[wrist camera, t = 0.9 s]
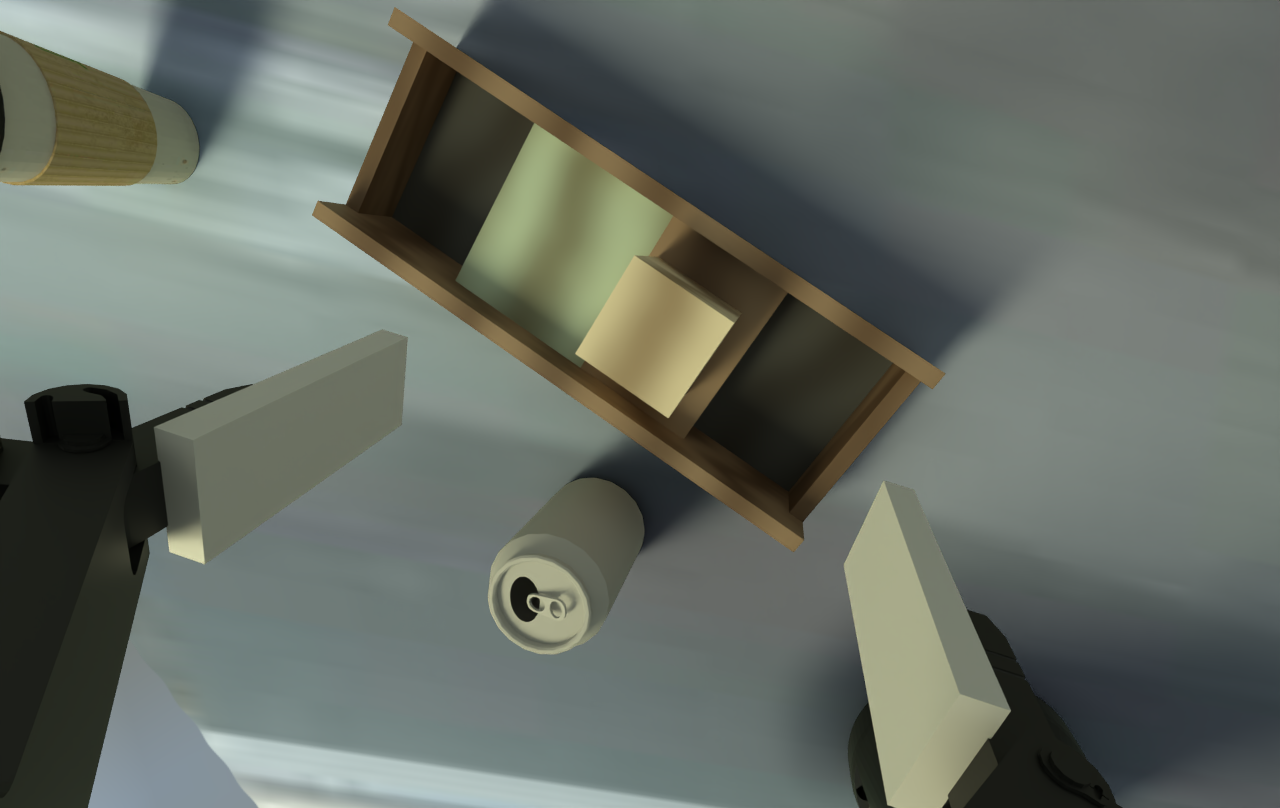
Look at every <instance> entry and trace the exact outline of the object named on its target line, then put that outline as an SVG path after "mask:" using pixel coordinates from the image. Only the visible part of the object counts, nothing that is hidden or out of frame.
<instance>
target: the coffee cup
mask: <svg viewBox="0 0 1280 808" xmlns="http://www.w3.org/2000/svg"><path fill="white" fill-rule="evenodd" d="M198 157H199V140H198V135H197V132H196V129H195V126H194V124H193V122H192V120H191V118H190V117H189V115H188V114H187V112H186V111H185V110H184V109H183V108H182V107H181V106H180V105H178V104H177V103H175V102H174V101H171V100H169V99H166V98H164V97H161V96H159V95H156V94H154V93H151V92H148V91H146V90H143V89H141V88H138V87H136V86H133V85H130V84H129V83H128V82H126V81H124V80H122V79H120V78H117V77H115V76H112V75H110V74H107V73H105V72H102V71H100V70H97V69H95V68H92V67H90V66H87V65H85V64H82V63H80V62H77V61H75V60H72V59H70V58H67V57H65V56H62V55H59V54H57V53H54V52H52V51H49V50H47V49H44V48H42V47H39V46H37V45H34V44H32V43H29V42H27V41H24V40H22V39H19V38H17V37H14V36H12V35H9V34H7V33H4V32H1V31H0V182H3V183H7V184H11V185H88V186H126V185H133V184H178V183H181V182H183V181H185V180H186V179H188V178H189V177H190V175H191V174H192V173H193V171H194V170H195V168H196V165H197V162H198Z"/></svg>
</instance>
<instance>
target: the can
mask: <svg viewBox="0 0 1280 808" xmlns="http://www.w3.org/2000/svg"><path fill="white" fill-rule="evenodd" d="M644 533H645V530H644V523H643V516H642V514H641V512H640V510H639V508H638V506H637V504H636V502H635V501H634V500H633V499H632V498H631V496H630V495H629V494H628V493H627V492H626V491H625V490H624V489H622V488H620V487H619V486H617V485H615V484H614V483H612V482H610V481H606V480H602V479H598V478H581V479H578V480H575V481H573V482H570V483H568V484H566V485H565V486H564V487H563V488H562V489H560V490H559V491H558V492H557V493H556V494H555V495H554V496H553V497H552V498H551V499H550V500H549V501H548V502H547V503H546V504H545V505H544V506H543V507H542V508H541V509H540V510H539V511H538V512H537V513H536V514H535V515H534V517H533V518H532V519H531V520H530V521H529V522H528V523H527V524H526V525H525V526H524V527H523V528H522V529H521V530H520V531H519V532H518V533H517V534H516V535H515V536H514V537H513V538H512V539H511V540H510V541H509V542H508V543H507V544H506V545H505V546H504V547H503V548H502V549H501V550H500V551H499V553H498V555H497V557H496V559H495V561H494V563H493V564H492V566H491V574H490V583H489V591H488V602H489V607H490V611H491V614H492V616H493V618H494V620H495V622H496V624H497V626H498V628H499V629H500V630H501V631H502V632H503V633H504V634H505V635H506V636H507V637H508V638H509V639H510V640H511V641H512V642H514V643H516V644H517V645H519V646H520V647H522V648H523V649H526V650H529V651H532V652H535V653H539V654H558V653H561V652H564V651H568V650H570V649H572V648H573V647H574V646H577V645H580V644H584V643H585V642H586V641H588V640H589V639H590V638H592V637H593V636H594V635H596V634H597V633H598V631H599V629H600V628H601V626H602V625H603V623H604V621H605V620H606V618H607V616H608V614H609V612H610V610H611V608H612V606H613V604H614V602H615V600H616V598H617V596H618V593H619V591H620V589H621V587H622V585H623V583H624V581H625V579H626V577H627V575H628V573H629V571H630V569H631V567H632V565H633V563H634V561H635V559H636V557H637V555H638V553H639V551H640V549H641V547H642V543H643V538H644Z"/></svg>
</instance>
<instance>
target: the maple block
mask: <svg viewBox="0 0 1280 808" xmlns="http://www.w3.org/2000/svg"><path fill="white" fill-rule="evenodd" d="M741 314H742V313H741V312H739V311H738V310H736V309H735V308H733V307H732V306H730V305H729V304H727V303H726V302H724V301H723V300H721V299H720V298H718V297H717V296H715V295H714V294H712V293H711V292H709V291H708V290H707V289H705V288H704V287H702V286H701V285H699V284H698V283H696V282H695V281H693V280H692V279H690V278H689V277H687V276H686V275H684V274H683V273H681V272H680V271H678V270H677V269H675V268H674V267H672V266H671V265H669V264H668V263H667V262H665V261H664V260H662V259H661V258H659V257H653V256H636V255H634V257H633V259H632V260H631V262H630V264H629V265H628V267H627V269H626V270H625V272H624V273H623V275H622V277H621V278H620V280H619V282H618V283H617V285H616V287H615V288H614V290H613V292H612V293H611V295H610V297H609V298H608V300H607V302H606V303H605V305H604V307H603V308H602V310H601V312H600V313H599V315H598V317H597V318H596V320H595V322H594V323H593V325H592V327H591V328H590V330H589V332H588V333H587V335H586V337H585V338H584V340H583V342H582V343H581V345H580V347H579V348H578V350H577V352H576V353H575V354H576V355H578V356H579V357H581V358H582V359H584V360H585V361H586V362H588V363H589V364H591V365H592V366H594V367H595V368H596V369H598V370H599V371H601V372H602V373H604V374H605V375H607V376H608V377H609V378H611V379H612V380H614V381H615V382H617V383H618V384H620V385H621V386H622V387H624V388H625V389H627V390H628V391H630V392H631V393H632V394H634V395H635V396H637V397H638V398H640V399H641V400H643V401H644V402H645V403H647V404H648V405H650V406H651V407H653V408H654V409H656V410H657V411H658V412H660V413H661V414H663V415H664V416H666V417H667V418H669V417H670V415H671V414H672V412H673V411H674V410H675V408H676V407H677V406H678V404H679V403H680V402H681V400H682V399H683V397H684V396H685V395H686V393H687V392H688V390H689V389H690V387H691V386H692V385H693V383H694V382H695V380H696V379H697V377H698V376H699V374H700V373H701V372H702V370H703V369H704V367H705V366H706V364H707V363H708V361H709V360H710V359H711V357H712V356H713V354H714V353H715V351H716V350H717V348H718V347H719V346H720V344H721V343H722V341H723V340H724V338H725V337H726V335H727V334H728V332H729V331H730V330H731V328H732V327H733V325H734V324H735V322H736V321H737V319H738V318H739V317H740V315H741Z"/></svg>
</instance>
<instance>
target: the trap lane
mask: <svg viewBox="0 0 1280 808" xmlns="http://www.w3.org/2000/svg"><path fill="white" fill-rule="evenodd" d="M388 25H389V26H390V27H392V28H393V29H395V30H396V31H398V32H399V33H401V34H402V35H404V36H405V37H407V38H408V39H410V40H411V41H413V44H412V47H411V49H410V51H409V54H408V56H407V59H406V61H405V63H404V66H403V68H402V71H401V73H400V75H399V78H398V80H397V83H396V85H395V88H394V90H393V92H392V95H391V97H390V100H389V102H388V104H387V107H386V109H385V112H384V114H383V116H382V119H381V121H380V124H379V126H378V129H377V131H376V133H375V136H374V138H373V141H372V143H371V145H370V148H369V150H368V153H367V155H366V157H365V160H364V162H363V165H362V167H361V169H360V172H359V174H358V177H357V179H356V182H355V184H354V186H353V189H352V191H351V194H350V196H349V198H348V201H347V203H346V205H345V204H337V203H330V202H322V201H318V202H317V204H316V207H315V209H314V212H313V214H312V216H314V217H315V218H317V219H318V220H320V221H321V222H322V223H324V224H325V225H327V226H328V227H330V228H331V229H332V230H334V231H335V232H337V233H338V234H340V235H341V236H342V237H344V238H345V239H347V240H348V241H350V242H351V243H352V244H354V245H355V246H357V247H358V248H360V249H361V250H362V251H364V252H365V253H367V254H368V255H370V256H371V257H372V258H374V259H375V260H377V261H378V262H380V263H381V264H382V265H384V266H385V267H387V268H388V269H390V270H391V271H392V272H394V273H395V274H397V275H398V276H400V277H401V278H402V279H404V280H405V281H407V282H408V283H410V284H411V285H412V286H414V287H415V288H417V289H418V290H420V291H421V292H422V293H424V294H425V295H427V296H428V297H430V298H431V299H433V300H434V301H435V302H437V303H438V304H440V305H441V306H443V307H444V308H445V309H447V310H448V311H450V312H451V313H453V314H454V315H455V316H457V317H458V318H460V319H461V320H463V321H464V322H465V323H467V324H468V325H470V326H471V327H473V328H474V329H475V330H477V331H478V332H480V333H481V334H483V335H484V336H485V337H487V338H488V339H490V340H491V341H493V342H494V343H495V344H497V345H498V346H500V347H501V348H503V349H504V350H505V351H507V352H508V353H510V354H511V355H513V356H514V357H515V358H517V359H518V360H520V361H521V362H523V363H524V364H525V365H527V366H528V367H530V368H531V369H533V370H534V371H535V372H537V373H538V374H540V375H541V376H543V377H544V378H545V379H547V380H548V381H550V382H551V383H553V384H554V385H555V386H557V387H558V388H560V389H561V390H563V391H564V392H565V393H567V394H568V395H570V396H571V397H573V398H574V399H575V400H577V401H578V402H580V403H581V404H583V405H584V406H585V407H587V408H588V409H590V410H591V411H593V412H594V413H595V414H597V415H598V416H600V417H601V418H603V419H604V420H605V421H607V422H608V423H610V424H611V425H613V426H614V427H615V428H617V429H618V430H620V431H621V432H623V433H624V434H625V435H627V436H628V437H630V438H631V439H633V440H634V441H635V442H637V443H638V444H640V445H641V446H643V447H644V448H645V449H647V450H648V451H650V452H651V453H653V454H654V455H655V456H657V457H658V458H660V459H661V460H663V461H664V462H665V463H667V464H668V465H670V466H671V467H673V468H674V469H675V470H677V471H678V472H680V473H681V474H683V475H684V476H685V477H687V478H688V479H690V480H691V481H693V482H694V483H695V484H697V485H698V486H700V487H701V488H703V489H704V490H705V491H707V492H708V493H710V494H711V495H713V496H714V497H715V498H717V499H718V500H720V501H721V502H723V503H724V504H725V505H727V506H728V507H730V508H731V509H733V510H734V511H735V512H737V513H738V514H740V515H741V516H743V517H744V518H745V519H747V520H748V521H750V522H751V523H753V524H754V525H755V526H757V527H758V528H760V529H761V530H763V531H764V532H765V533H767V534H768V535H770V536H771V537H773V538H774V539H775V540H777V541H778V542H780V543H781V544H783V545H784V546H785V547H787V548H788V549H790V550H791V551H793V552H794V551H795V550H796V549H797V548H798V546H799V545H800V544H801V543H802V542H803V541H804V533H803V521H804V520H805V519H806V518H807V516H808V515H809V514H810V513H811V512H812V510H813V509H814V508H815V507H816V506H817V504H818V503H819V502H820V501H821V500H822V499H823V497H824V496H825V495H826V494H827V493H828V491H829V490H830V489H831V488H832V487H833V485H834V484H835V483H836V482H837V481H838V479H839V478H840V477H841V476H842V475H843V474H844V472H845V471H846V470H847V469H848V468H849V466H850V465H851V464H852V463H853V462H854V460H855V459H856V458H857V457H858V456H859V454H860V453H861V452H862V451H863V450H864V449H865V447H866V446H867V445H868V444H869V443H870V441H871V440H872V439H873V438H874V437H875V435H876V434H877V433H878V432H879V431H880V429H881V428H882V427H883V426H884V425H885V424H886V422H887V421H888V420H889V419H890V418H891V416H892V415H893V414H894V413H895V412H896V410H897V409H898V408H899V407H900V406H901V404H902V403H903V402H904V401H905V400H906V399H907V397H908V396H909V395H910V394H911V393H912V391H913V390H914V389H915V388H916V387H917V385H918V384H919V383H920V382H922V383H924V384H925V385H927V386H928V387H930V388H931V389H933V388H934V387H935V386H936V385H937V383H938V382H939V381H940V380H941V379H942V377H943V376H944V375H945V373H944V372H942V371H941V370H939V369H938V368H936V367H935V366H933V365H932V364H930V363H929V362H927V361H926V360H924V359H923V358H921V357H920V356H918V355H917V354H915V353H914V352H912V351H911V350H909V349H908V348H906V347H905V346H903V345H902V344H900V343H899V342H897V341H896V340H894V339H893V338H891V337H890V336H888V335H887V334H885V333H884V332H882V331H881V330H879V329H878V328H876V327H875V326H873V325H872V324H870V323H869V322H867V321H866V320H864V319H863V318H861V317H860V316H858V315H857V314H855V313H854V312H852V311H851V310H849V309H848V308H846V307H845V306H843V305H842V304H840V303H838V302H837V301H835V300H834V299H832V298H831V297H829V296H828V295H826V294H825V293H823V292H822V291H820V290H819V289H817V288H816V287H814V286H813V285H811V284H810V283H808V282H807V281H805V280H804V279H802V278H801V277H799V276H798V275H796V274H795V273H793V272H792V271H790V270H789V269H787V268H786V267H784V266H783V265H781V264H780V263H778V262H777V261H775V260H774V259H772V258H771V257H769V256H768V255H766V254H765V253H763V252H762V251H760V250H759V249H757V248H756V247H754V246H753V245H751V244H750V243H748V242H747V241H745V240H744V239H742V238H741V237H739V236H738V235H736V234H735V233H733V232H732V231H730V230H729V229H727V228H726V227H724V226H723V225H721V224H720V223H718V222H717V221H715V220H714V219H712V218H711V217H709V216H708V215H706V214H705V213H703V212H702V211H700V210H699V209H697V208H696V207H694V206H693V205H691V204H690V203H688V202H687V201H685V200H684V199H682V198H681V197H679V196H678V195H676V194H675V193H673V192H672V191H670V190H669V189H667V188H666V187H664V186H663V185H661V184H660V183H658V182H657V181H655V180H654V179H652V178H651V177H649V176H648V175H646V174H645V173H643V172H642V171H640V170H639V169H637V168H636V167H634V166H633V165H631V164H630V163H628V162H627V161H625V160H624V159H622V158H621V157H619V156H618V155H616V154H615V153H613V152H612V151H610V150H609V149H607V148H606V147H604V146H603V145H601V144H600V143H598V142H597V141H595V140H594V139H592V138H591V137H589V136H588V135H586V134H585V133H583V132H582V131H580V130H579V129H577V128H576V127H574V126H573V125H571V124H570V123H568V122H567V121H565V120H564V119H562V118H561V117H559V116H558V115H556V114H555V113H553V112H552V111H550V110H549V109H547V108H546V107H544V106H543V105H541V104H540V103H538V102H537V101H535V100H534V99H532V98H531V97H529V96H528V95H526V94H525V93H523V92H522V91H520V90H519V89H517V88H516V87H514V86H513V85H511V84H510V83H508V82H507V81H505V80H504V79H502V78H501V77H499V76H498V75H496V74H495V73H493V72H492V71H490V70H489V69H487V68H486V67H484V66H483V65H481V64H480V63H478V62H477V61H475V60H474V59H472V58H471V57H469V56H468V55H466V54H465V53H463V52H462V51H460V50H459V49H457V48H456V47H454V46H452V45H451V44H449V43H448V42H446V41H445V40H443V39H442V38H440V37H439V36H437V35H436V34H434V33H433V32H431V31H430V30H428V29H427V28H425V27H424V26H422V25H421V24H419V23H418V22H416V21H415V20H413V19H412V18H410V17H409V16H407V15H406V14H404V13H403V12H401V11H400V10H398V9H397V8H394V10H393V13H392V15H391V18H390V21H389V23H388ZM634 255H636V256H653V257H659V258H661V259H662V260H664V261H665V262H667V263H668V264H669V265H671V266H672V267H674V268H675V269H677V270H678V271H680V272H681V273H683V274H684V275H686V276H687V277H689V278H690V279H692V280H693V281H695V282H696V283H698V284H699V285H701V286H702V287H704V288H705V289H707V290H708V291H709V292H711V293H712V294H714V295H715V296H717V297H718V298H720V299H721V300H723V301H724V302H726V303H727V304H729V305H730V306H732V307H733V308H735V309H736V310H738V311H739V312H741V313H742V314H741V315H740V317H739V318H738V319H737V321H736V322H735V324H734V325H733V327H732V328H731V330H730V331H729V332H728V334H727V335H726V337H725V338H724V340H723V341H722V343H721V344H720V346H719V347H718V348H717V350H716V351H715V353H714V354H713V356H712V357H711V359H710V360H709V361H708V363H707V364H706V366H705V367H704V369H703V370H702V372H701V373H700V374H699V376H698V377H697V379H696V380H695V382H694V383H693V385H692V386H691V387H690V389H689V390H688V392H687V393H686V395H685V396H684V397H683V399H682V400H681V402H680V403H679V404H678V406H677V407H676V408H675V410H674V411H673V412H672V414H671V415H670V417H669V418H667V417H666V416H664V415H663V414H661V413H660V412H658V411H657V410H656V409H654V408H653V407H651V406H650V405H648V404H647V403H645V402H644V401H643V400H641V399H640V398H638V397H637V396H635V395H634V394H632V393H631V392H630V391H628V390H627V389H625V388H624V387H622V386H621V385H620V384H618V383H617V382H615V381H614V380H612V379H611V378H609V377H608V376H607V375H605V374H604V373H602V372H601V371H599V370H598V369H596V368H595V367H594V366H592V365H591V364H589V363H588V362H586V361H585V360H584V359H582V358H581V357H579V356H578V355H576V354H575V353H576V352H577V350H578V348H579V347H580V345H581V343H582V342H583V340H584V338H585V337H586V335H587V333H588V332H589V330H590V328H591V327H592V325H593V323H594V322H595V320H596V318H597V317H598V315H599V313H600V312H601V310H602V308H603V307H604V305H605V303H606V302H607V300H608V298H609V297H610V295H611V293H612V292H613V290H614V288H615V287H616V285H617V283H618V282H619V280H620V278H621V277H622V275H623V273H624V272H625V270H626V269H627V267H628V265H629V264H630V262H631V260H632V259H633V257H634Z"/></svg>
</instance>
